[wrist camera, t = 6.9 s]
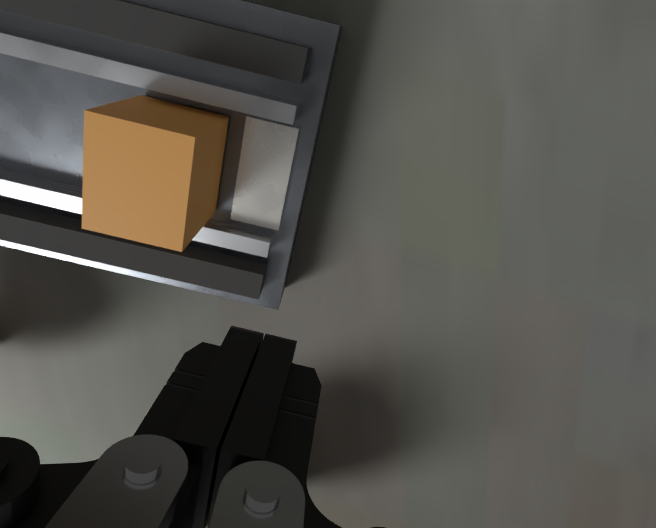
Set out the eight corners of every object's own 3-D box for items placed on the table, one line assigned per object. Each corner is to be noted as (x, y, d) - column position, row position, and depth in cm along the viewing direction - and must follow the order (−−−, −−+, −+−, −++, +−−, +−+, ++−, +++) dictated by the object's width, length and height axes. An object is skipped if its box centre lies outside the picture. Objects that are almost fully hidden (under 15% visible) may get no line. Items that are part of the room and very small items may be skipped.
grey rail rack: (310, 47, 21) (307, 48, 20) (263, 287, 26) (258, 299, 25) (-117, -61, 21) (-146, -67, 19) (-84, 206, 26) (-106, 215, 24)
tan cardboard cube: (228, 116, 22) (195, 137, 18) (215, 211, 24) (181, 252, 20) (140, 95, 22) (84, 110, 18) (134, 192, 24) (81, 228, 20)
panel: (341, 26, 23) (338, 24, 20) (284, 288, 29) (274, 321, 26) (-95, -85, 22) (-175, -106, 19) (-64, 207, 28) (-121, 230, 25)
